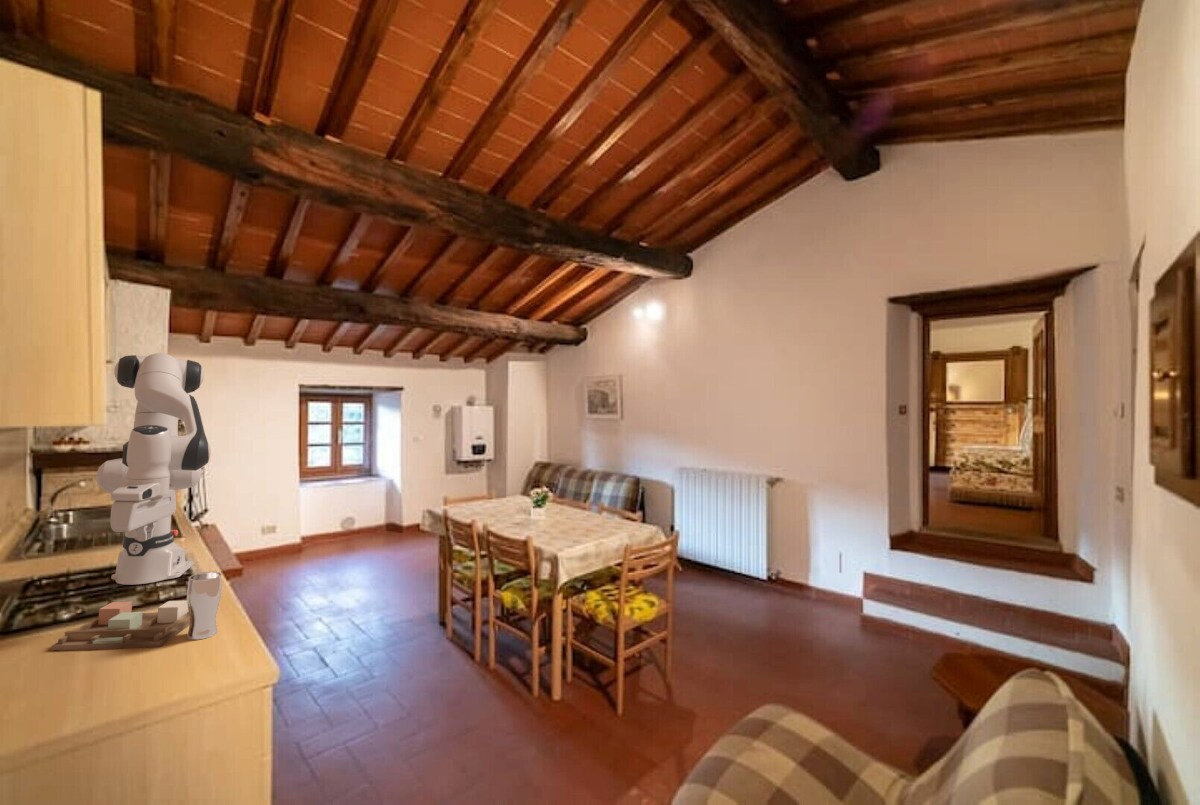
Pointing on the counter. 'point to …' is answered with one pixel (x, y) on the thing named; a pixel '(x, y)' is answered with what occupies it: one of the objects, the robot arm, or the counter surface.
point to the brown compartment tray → (122, 635)
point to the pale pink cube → (171, 611)
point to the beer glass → (203, 604)
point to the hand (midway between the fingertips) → (144, 539)
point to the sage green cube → (125, 621)
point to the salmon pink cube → (113, 611)
